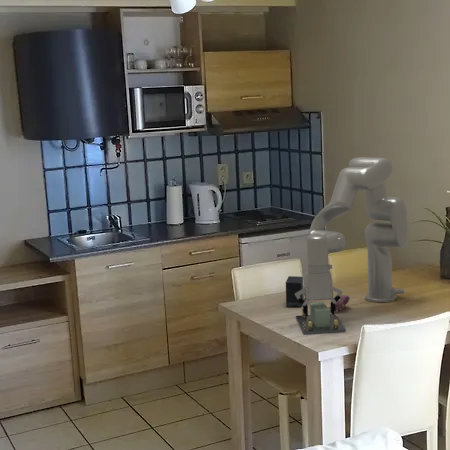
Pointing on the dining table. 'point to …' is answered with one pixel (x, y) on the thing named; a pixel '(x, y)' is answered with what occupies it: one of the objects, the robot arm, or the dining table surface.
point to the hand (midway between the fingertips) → (319, 314)
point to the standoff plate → (310, 328)
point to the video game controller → (341, 302)
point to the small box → (293, 291)
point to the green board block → (320, 314)
